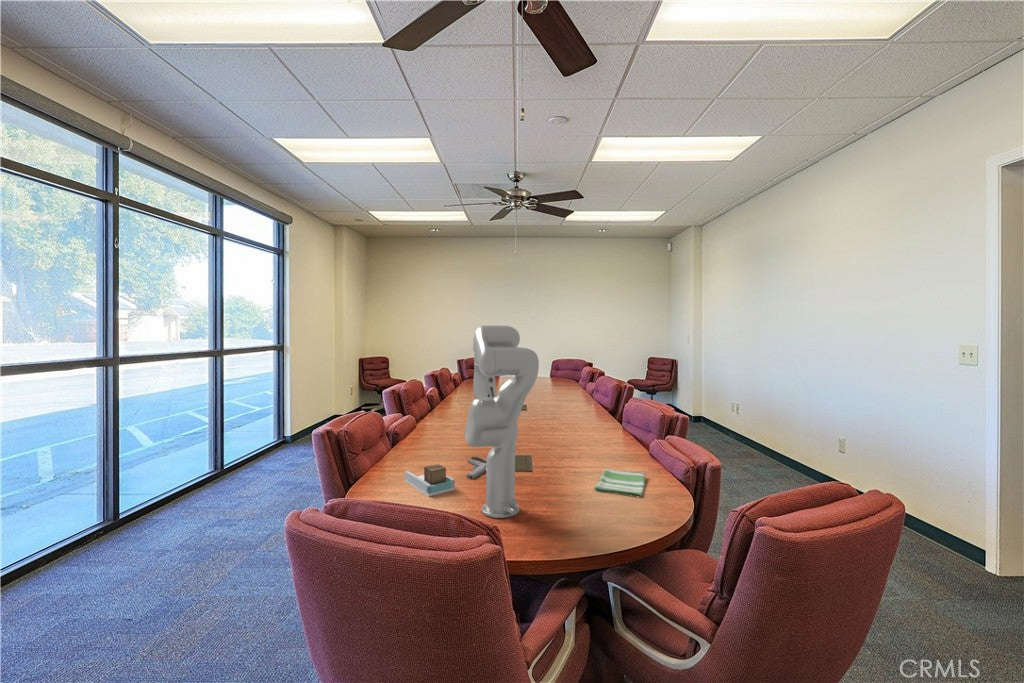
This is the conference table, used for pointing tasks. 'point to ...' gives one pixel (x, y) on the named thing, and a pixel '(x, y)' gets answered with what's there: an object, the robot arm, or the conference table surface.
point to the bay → (428, 488)
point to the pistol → (477, 467)
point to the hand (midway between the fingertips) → (483, 415)
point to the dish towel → (621, 482)
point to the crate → (435, 474)
